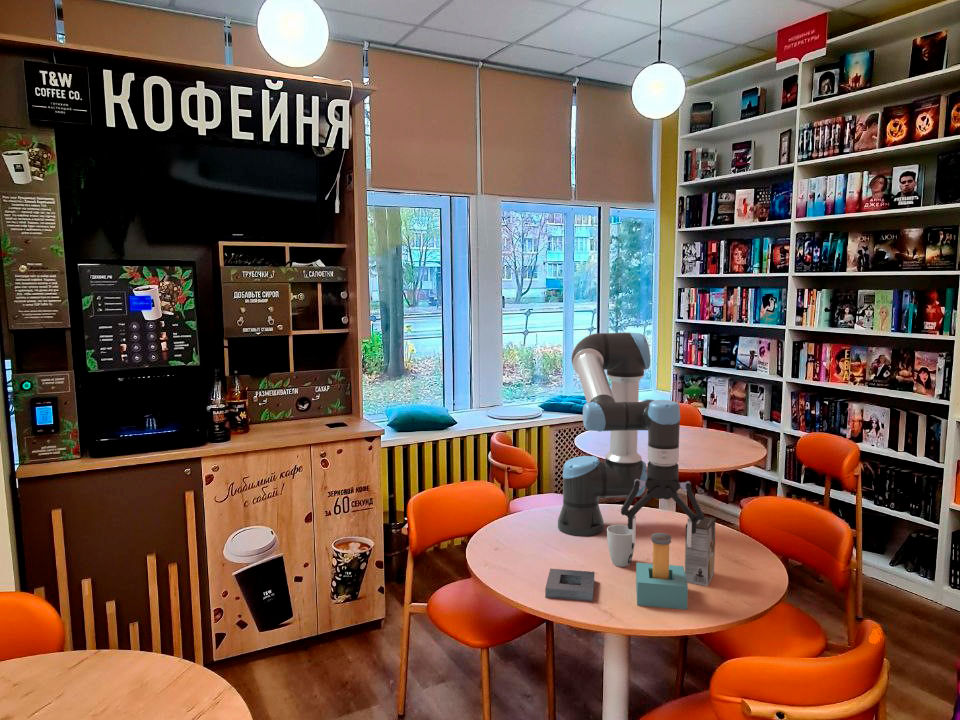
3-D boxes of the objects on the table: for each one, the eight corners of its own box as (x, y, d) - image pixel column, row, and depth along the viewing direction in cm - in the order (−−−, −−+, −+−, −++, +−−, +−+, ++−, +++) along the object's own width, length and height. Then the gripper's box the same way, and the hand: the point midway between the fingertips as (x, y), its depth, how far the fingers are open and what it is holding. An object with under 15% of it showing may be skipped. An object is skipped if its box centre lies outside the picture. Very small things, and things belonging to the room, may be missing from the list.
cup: (635, 570, 184) (636, 535, 183) (606, 567, 185) (606, 533, 184) (634, 558, 192) (635, 525, 191) (606, 556, 193) (606, 523, 192)
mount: (550, 577, 180) (550, 568, 180) (594, 580, 177) (594, 571, 177) (545, 597, 168) (545, 588, 168) (592, 601, 166) (592, 592, 165)
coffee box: (690, 569, 184) (692, 514, 182) (714, 573, 181) (716, 517, 179) (683, 582, 176) (685, 524, 174) (708, 587, 173) (710, 528, 171)
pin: (650, 591, 171) (651, 532, 169) (669, 592, 170) (670, 533, 168) (651, 600, 166) (651, 539, 164) (670, 601, 165) (671, 540, 163)
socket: (636, 584, 175) (636, 562, 174) (682, 587, 173) (683, 566, 172) (637, 605, 163) (637, 582, 163) (687, 609, 161) (687, 586, 160)
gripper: (612, 464, 163) (611, 545, 166) (717, 469, 158) (714, 552, 161) (612, 456, 170) (611, 533, 173) (713, 460, 165) (710, 540, 168)
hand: (661, 543), depth 167 cm, fingers open, 13 cm apart
